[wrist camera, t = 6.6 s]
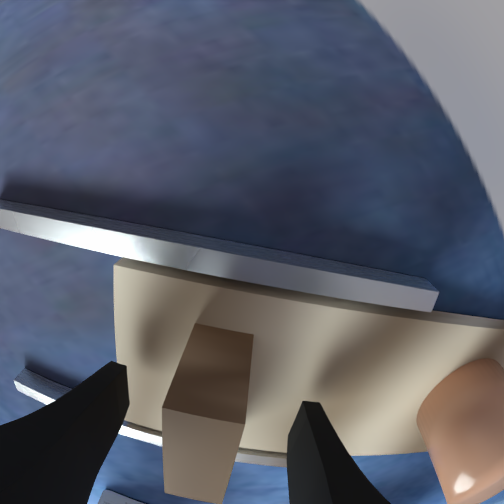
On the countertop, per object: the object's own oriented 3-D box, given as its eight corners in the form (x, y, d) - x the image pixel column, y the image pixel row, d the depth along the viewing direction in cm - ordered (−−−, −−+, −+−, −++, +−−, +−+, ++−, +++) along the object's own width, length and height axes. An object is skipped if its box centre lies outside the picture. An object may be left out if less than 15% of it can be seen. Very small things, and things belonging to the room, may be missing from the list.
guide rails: (425, 278, 11) (439, 292, 10) (339, 452, 14) (342, 469, 13) (-2, 199, 11) (-20, 205, 9) (27, 378, 14) (17, 389, 13)
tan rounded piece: (517, 358, 11) (569, 421, 6) (469, 430, 12) (502, 495, 7) (448, 357, 11) (504, 444, 6) (398, 437, 12) (425, 519, 7)
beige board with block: (530, 323, 11) (585, 377, 6) (461, 434, 14) (489, 493, 9) (125, 255, 11) (46, 324, 6) (130, 406, 13) (93, 484, 9)
